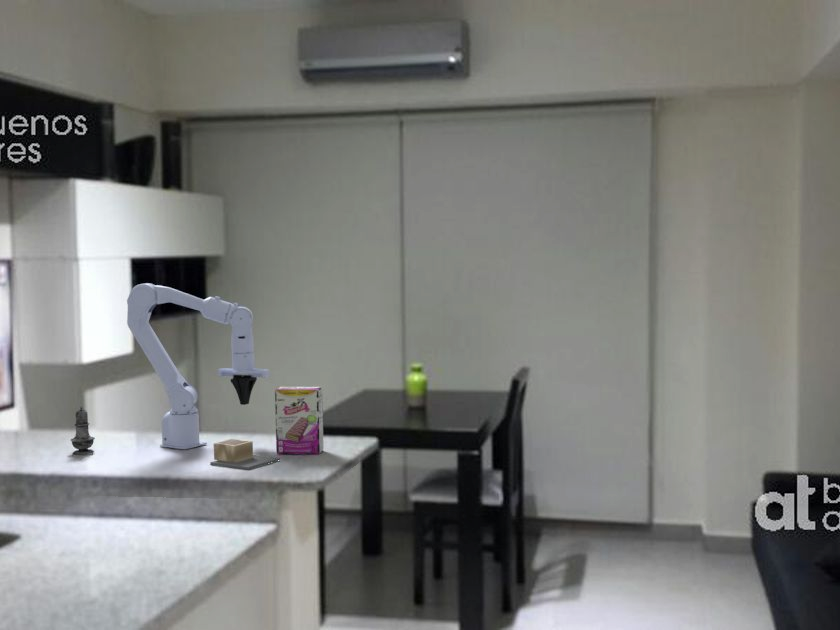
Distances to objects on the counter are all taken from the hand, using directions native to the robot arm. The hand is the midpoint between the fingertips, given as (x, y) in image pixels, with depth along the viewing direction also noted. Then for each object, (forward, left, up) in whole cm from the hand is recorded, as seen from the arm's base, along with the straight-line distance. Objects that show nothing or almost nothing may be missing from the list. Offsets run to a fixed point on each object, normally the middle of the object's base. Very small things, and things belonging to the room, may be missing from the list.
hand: (244, 404), depth 249 cm
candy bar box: (+21, -3, -11) cm, 24 cm away
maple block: (+9, -18, -8) cm, 22 cm away
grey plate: (+16, -18, -10) cm, 27 cm away
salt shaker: (-30, -28, -11) cm, 42 cm away
